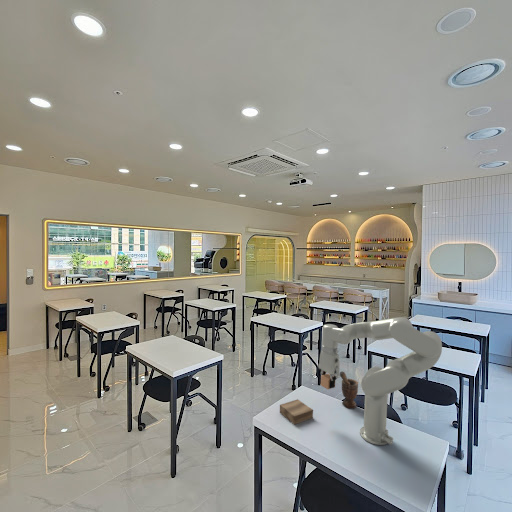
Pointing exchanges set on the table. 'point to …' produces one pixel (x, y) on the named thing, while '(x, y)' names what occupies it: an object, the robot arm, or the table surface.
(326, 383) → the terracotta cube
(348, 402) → the mortar and pestle
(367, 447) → the table surface
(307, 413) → the walnut base
